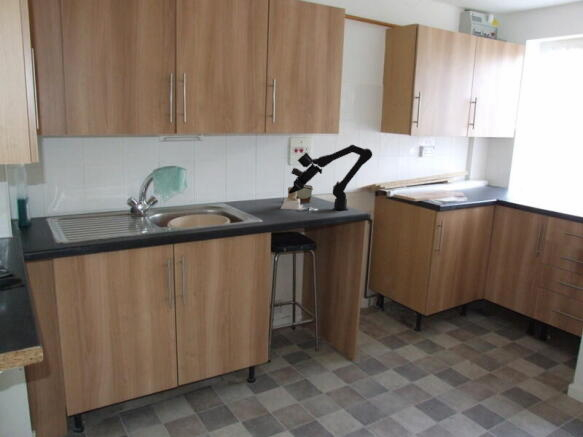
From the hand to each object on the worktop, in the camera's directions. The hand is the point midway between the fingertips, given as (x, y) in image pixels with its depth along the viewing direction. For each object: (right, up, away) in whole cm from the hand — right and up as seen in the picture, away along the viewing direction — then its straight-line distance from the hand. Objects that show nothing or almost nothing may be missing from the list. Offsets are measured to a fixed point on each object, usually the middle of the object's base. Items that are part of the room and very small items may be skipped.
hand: (289, 191), depth 278 cm
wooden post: (+1, -8, +2) cm, 9 cm away
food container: (+9, -5, +21) cm, 23 cm away
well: (+1, -9, +2) cm, 9 cm away
